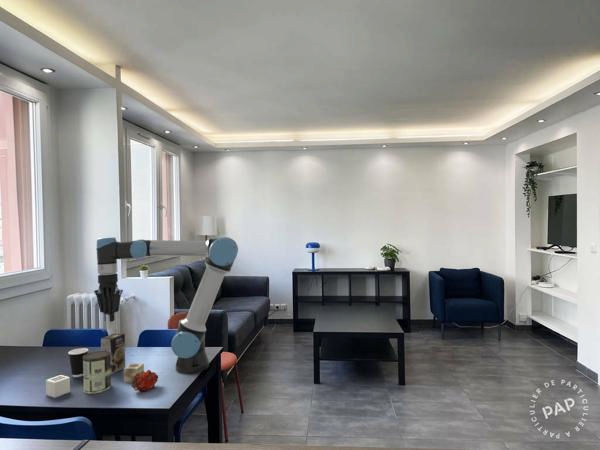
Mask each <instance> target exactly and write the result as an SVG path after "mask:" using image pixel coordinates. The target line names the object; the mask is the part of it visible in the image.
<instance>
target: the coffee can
mask: <svg viewBox="0 0 600 450" xmlns="http://www.w3.org/2000/svg"><path fill="white" fill-rule="evenodd" d="M110 355H111V352H109V351H101V350H99V351H98V350H97V351H93V352H88V353H87V354H86V355H84V356H83V373H84V375H83V393H85V394H89V395H91V394H92V395H93V394H99V393H103V392H106V391H108V390H109V389H111V388H112V374H111V356H110Z"/></svg>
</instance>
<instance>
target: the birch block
mask: <svg viewBox="0 0 600 450" xmlns="http://www.w3.org/2000/svg"><path fill="white" fill-rule="evenodd" d="M144 364H145V363H142V362H141V363H136V362H135V363H133V362H131V363H129V364H128V365H127V366H126V365H125V368H123V383H132V380H133V378H134V376H135V375H136V374H137V373H141V372H142V371H144V372H145V367H144V366H145V365H144Z"/></svg>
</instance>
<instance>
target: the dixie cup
mask: <svg viewBox="0 0 600 450" xmlns="http://www.w3.org/2000/svg"><path fill="white" fill-rule="evenodd" d="M88 353H89V349H88V348H86V347H82V348H75V349H71V350H70V351H68V356H69V365H70V369H71V375H72V377H73V378H81V377H84V373H83V356H84V355H86V354H88Z"/></svg>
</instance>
